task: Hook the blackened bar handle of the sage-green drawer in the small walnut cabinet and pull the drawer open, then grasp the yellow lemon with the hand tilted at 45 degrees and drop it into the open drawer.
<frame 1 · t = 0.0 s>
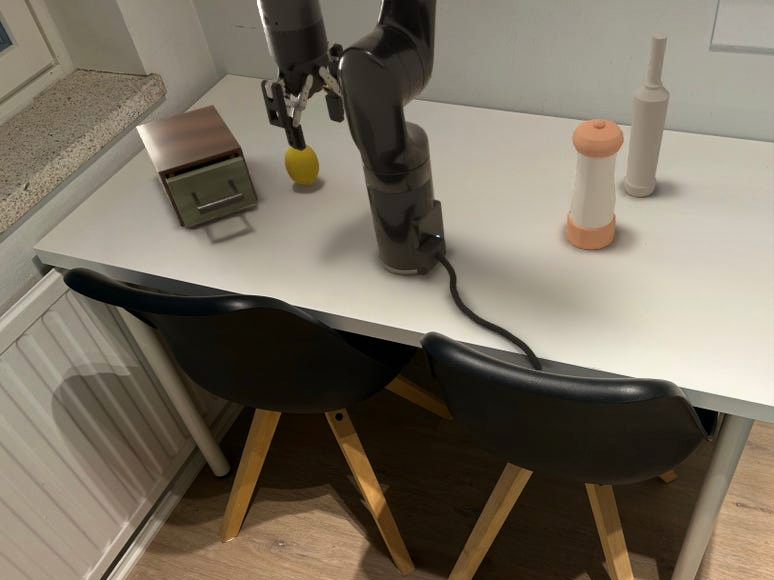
hand: (318, 134, 101), 17 cm above the table, tool pointing down, fingers open, 8 cm apart
pepper shaker: (589, 236, 111), on the table
lemon: (307, 185, 124), on the table
cabinet: (207, 189, 124), on the table
drawer: (206, 179, 117), point 5 cm above the table, slide at 1.0 cm
bottle: (638, 189, 118), on the table
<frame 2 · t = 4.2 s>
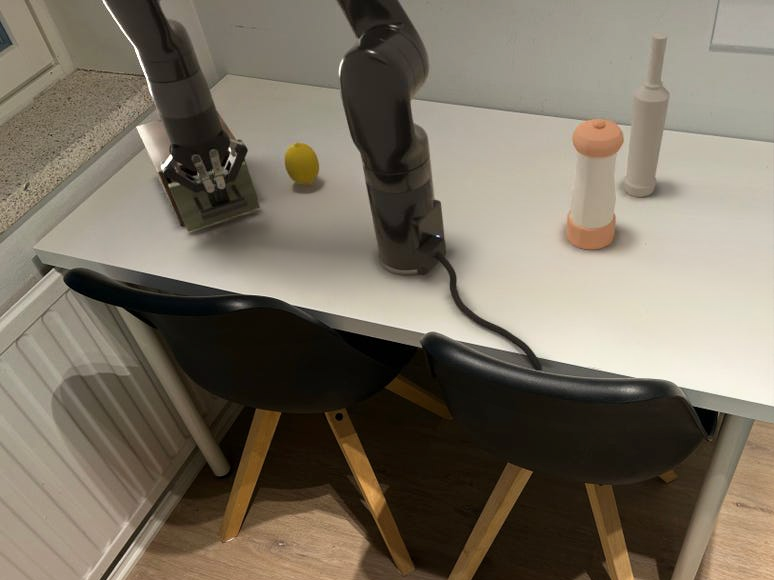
hand: (222, 207, 111), 5 cm above the table, tool pointing down, fingers closed
drawer: (208, 183, 116), point 5 cm above the table, slide at 2.6 cm
everything else where it was.
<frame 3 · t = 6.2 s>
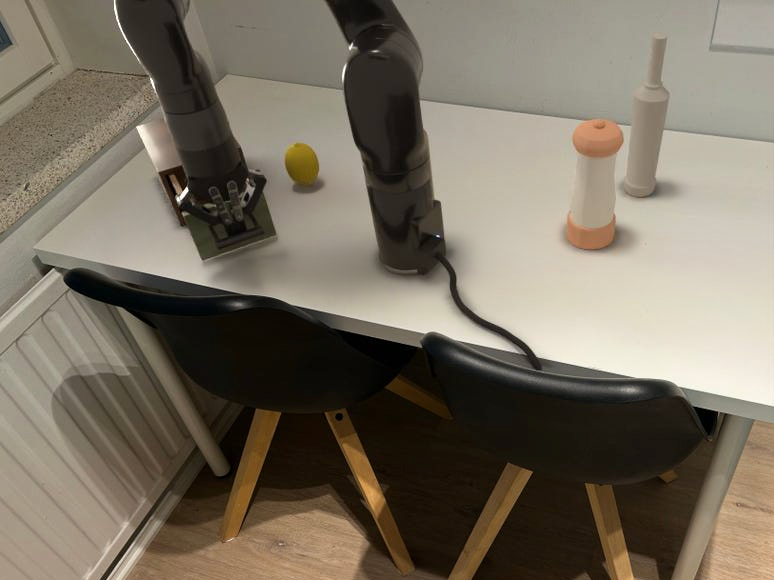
hand: (240, 239, 106), 4 cm above the table, tool pointing down, fingers closed
drawer: (223, 210, 111), point 5 cm above the table, slide at 11.2 cm, touching gripper
everything else where it was.
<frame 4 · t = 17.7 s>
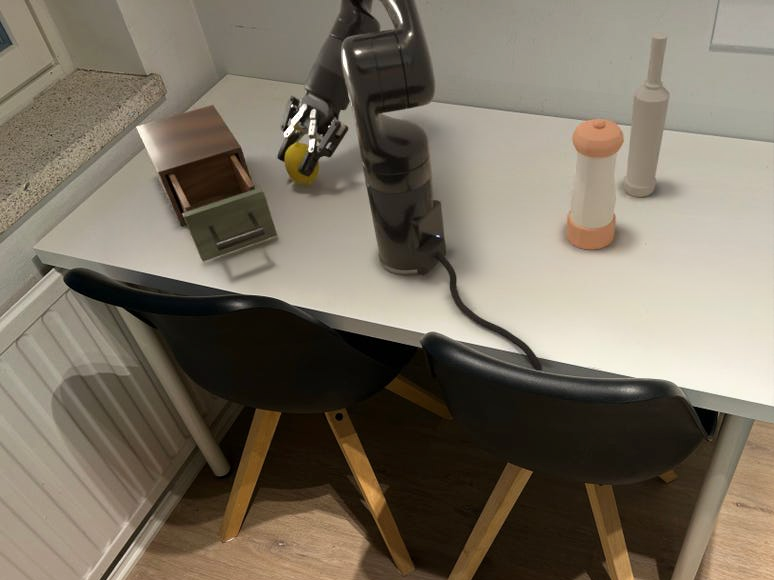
hand: (293, 167, 120), 4 cm above the table, tool tilted 45°, fingers closed on lemon, 5 cm apart
lemon: (307, 185, 124), on the table, touching gripper
drawer: (223, 210, 111), point 5 cm above the table, slide at 11.4 cm
everything else where it was.
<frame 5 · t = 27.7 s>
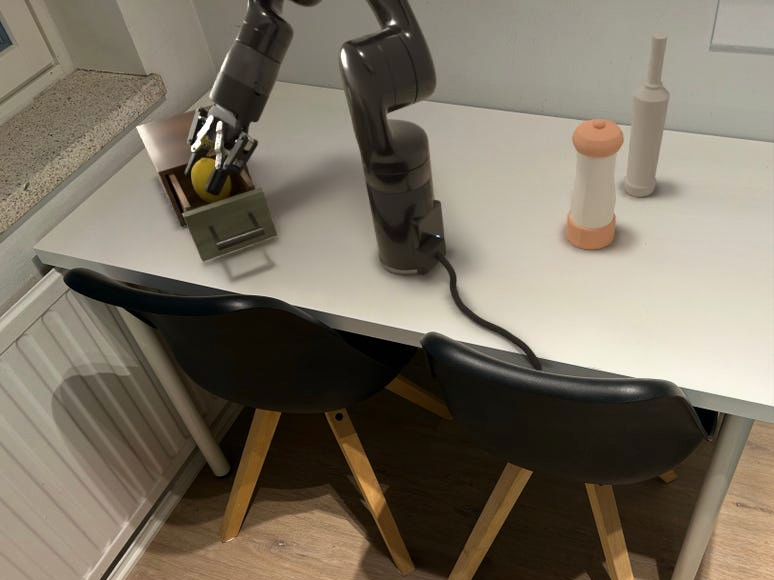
hand: (201, 185, 109), 9 cm above the table, tool tilted 45°, fingers closed on lemon, 5 cm apart
lemon: (220, 204, 113), point 4 cm above the table, touching gripper
everything else where it was.
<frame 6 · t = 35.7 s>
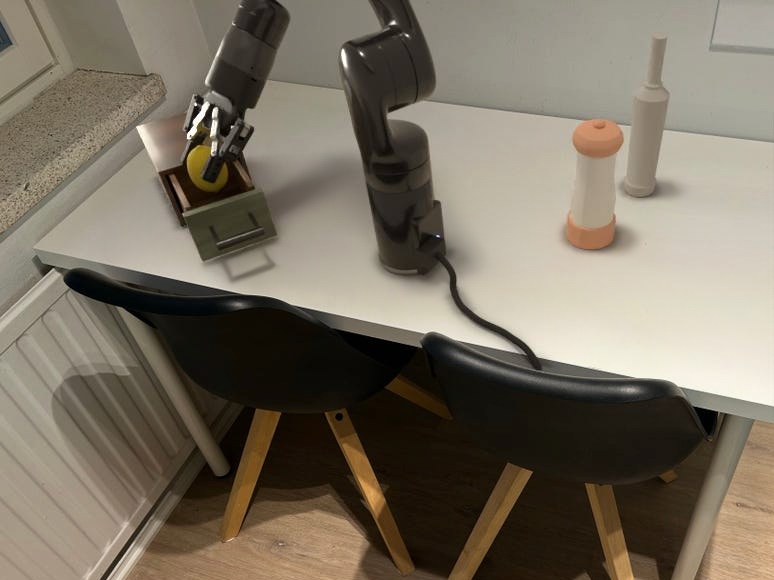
hand: (197, 173, 107), 11 cm above the table, tool tilted 45°, fingers closed on lemon, 5 cm apart
lemon: (216, 193, 111), point 7 cm above the table, touching gripper
everything else where it was.
when the fingers open (12 cm above the table, at t = 43.2 s): lemon drops 5 cm, resting on cabinet, drawer.
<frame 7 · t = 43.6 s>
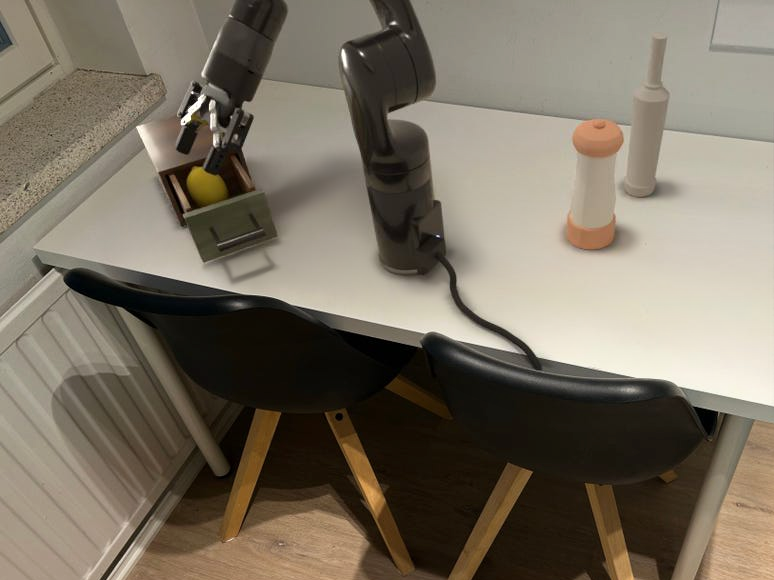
hand: (194, 162, 106), 13 cm above the table, tool tilted 45°, fingers open, 8 cm apart
lemon: (223, 214, 114), point 3 cm above the table, touching cabinet, drawer
drawer: (224, 211, 110), point 5 cm above the table, slide at 11.8 cm, touching lemon
everything else where it was.
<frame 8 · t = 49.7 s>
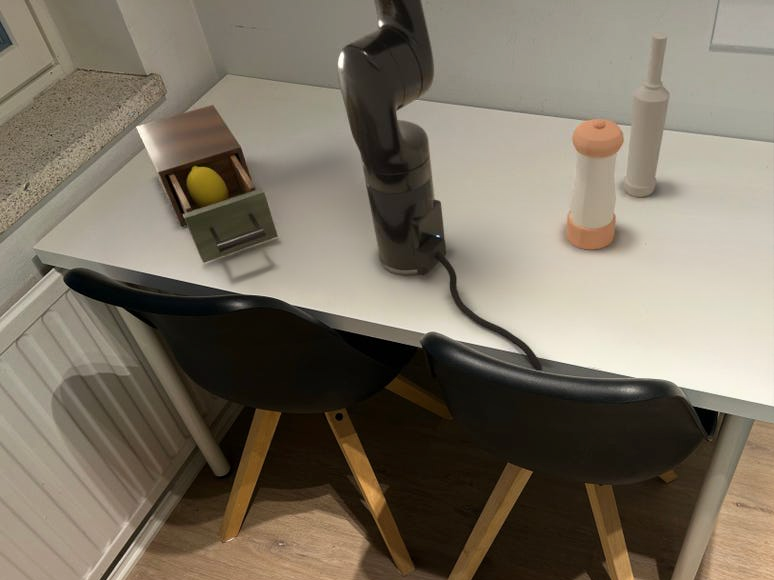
nothing on the table moved.
at the end: drawer slide at 11.8 cm; lemon 1.2 cm from the drawer (horizontally); lemon point 2.6 cm above the table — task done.
